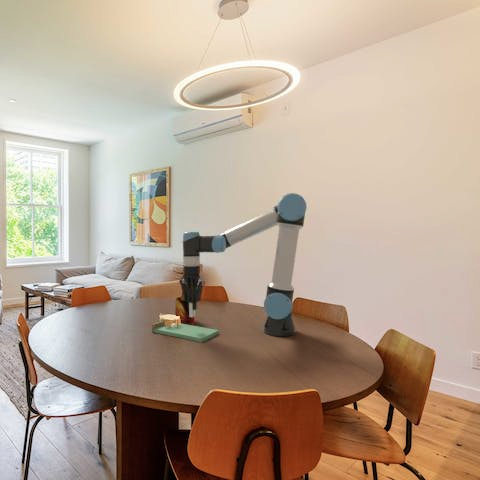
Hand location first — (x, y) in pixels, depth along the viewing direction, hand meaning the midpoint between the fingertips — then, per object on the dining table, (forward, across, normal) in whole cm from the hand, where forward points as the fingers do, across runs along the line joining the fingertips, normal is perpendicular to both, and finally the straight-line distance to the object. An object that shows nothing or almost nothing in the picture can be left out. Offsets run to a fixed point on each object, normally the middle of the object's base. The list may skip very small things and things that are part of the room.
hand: (192, 316), depth 157 cm
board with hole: (+8, +4, 0) cm, 9 cm away
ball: (+6, +11, 0) cm, 13 cm away
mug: (+8, +14, -15) cm, 23 cm away
